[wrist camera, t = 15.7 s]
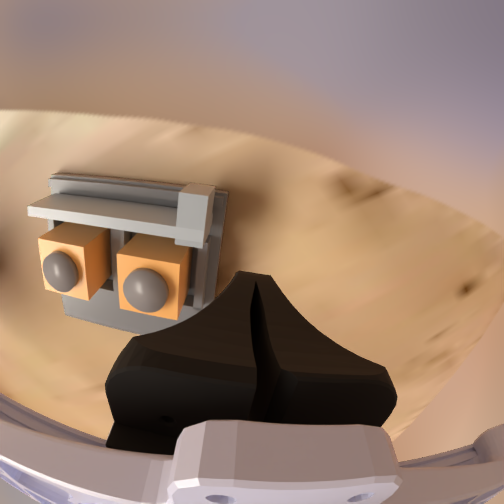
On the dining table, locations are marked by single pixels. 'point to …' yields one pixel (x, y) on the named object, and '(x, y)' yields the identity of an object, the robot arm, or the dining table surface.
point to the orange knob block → (75, 259)
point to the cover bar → (137, 214)
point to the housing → (139, 191)
